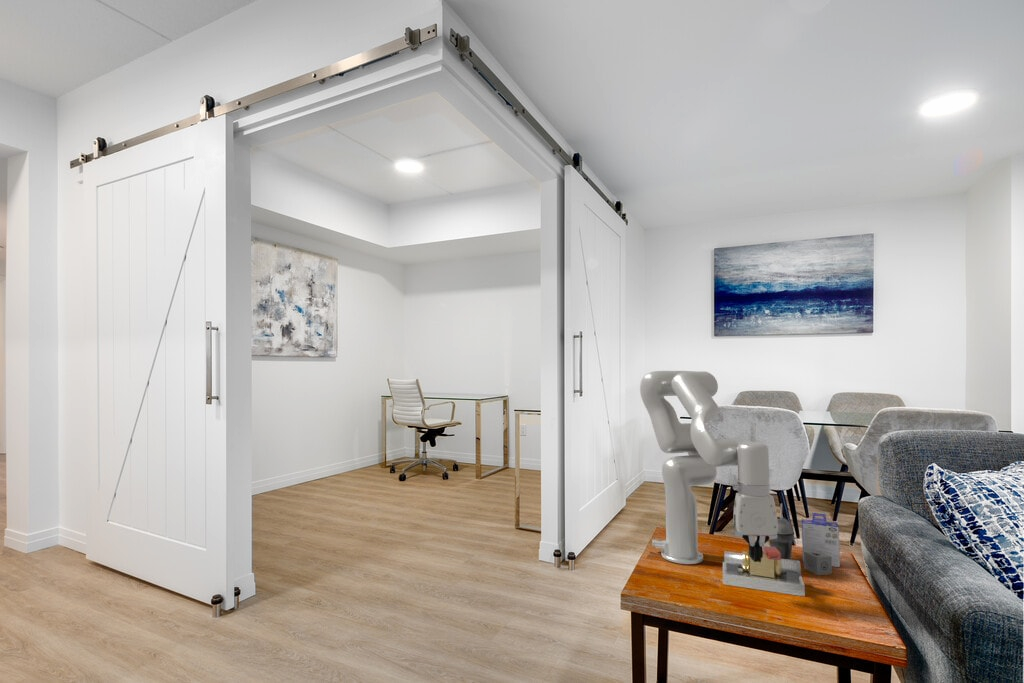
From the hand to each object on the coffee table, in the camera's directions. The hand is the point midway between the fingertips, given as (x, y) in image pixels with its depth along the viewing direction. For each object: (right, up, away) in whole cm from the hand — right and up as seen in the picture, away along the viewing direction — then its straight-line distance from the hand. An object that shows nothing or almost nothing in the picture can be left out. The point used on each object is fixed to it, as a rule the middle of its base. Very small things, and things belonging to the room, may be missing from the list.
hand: (755, 560), depth 135 cm
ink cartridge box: (+31, -11, +23) cm, 40 cm away
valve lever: (+4, +1, +3) cm, 6 cm away
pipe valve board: (+5, -10, +8) cm, 14 cm away
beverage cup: (+15, -11, +17) cm, 25 cm away
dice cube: (+26, -11, +17) cm, 33 cm away
